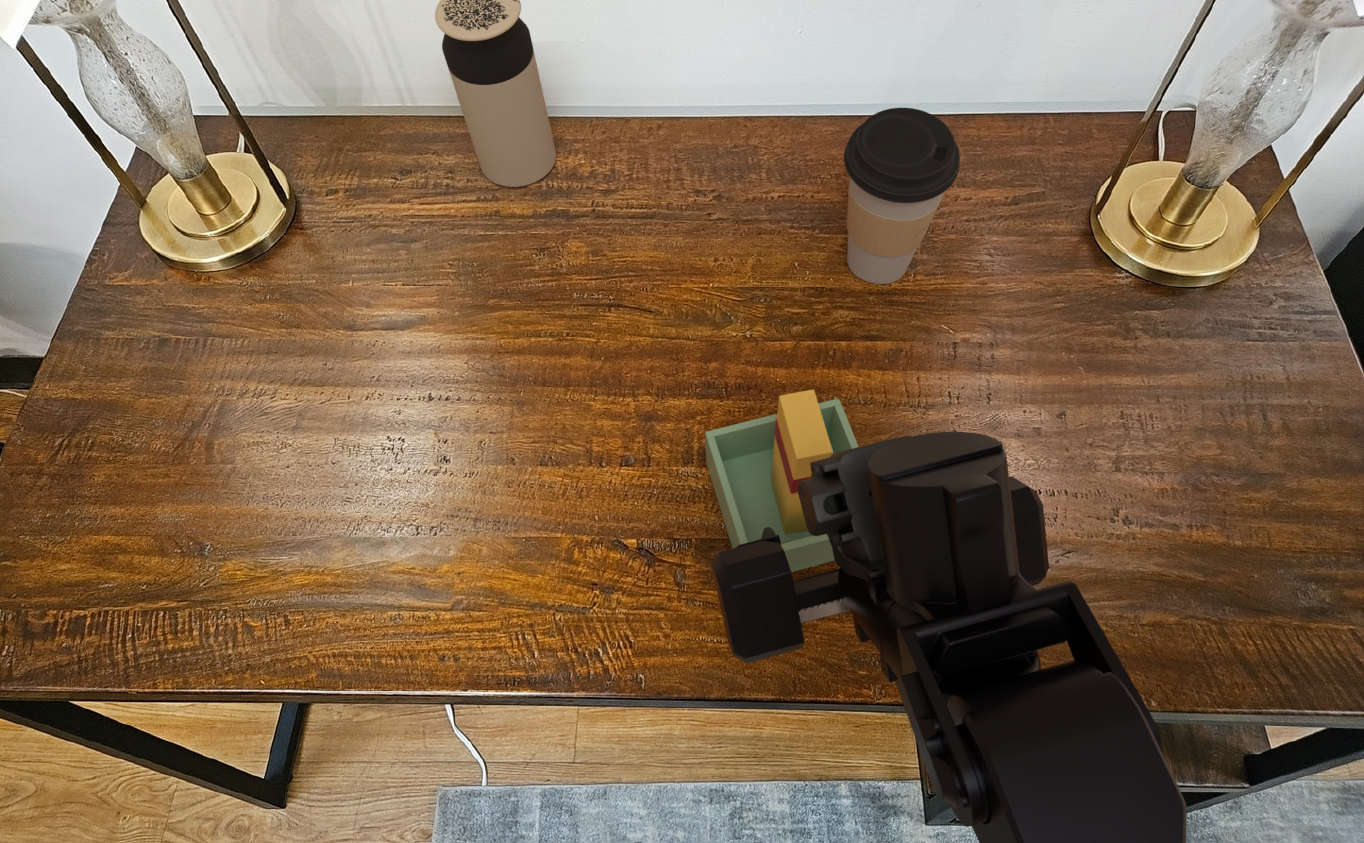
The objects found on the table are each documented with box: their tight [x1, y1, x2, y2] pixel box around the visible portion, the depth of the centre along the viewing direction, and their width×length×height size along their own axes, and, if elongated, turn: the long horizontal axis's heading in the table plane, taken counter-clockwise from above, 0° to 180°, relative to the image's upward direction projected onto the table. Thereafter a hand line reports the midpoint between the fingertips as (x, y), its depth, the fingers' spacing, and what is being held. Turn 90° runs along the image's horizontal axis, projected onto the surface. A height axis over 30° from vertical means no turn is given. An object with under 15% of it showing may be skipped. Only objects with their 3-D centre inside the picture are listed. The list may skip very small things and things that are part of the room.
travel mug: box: [434, 0, 557, 188], centre depth 85 cm, size 8×8×18 cm
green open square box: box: [704, 398, 860, 573], centre depth 71 cm, size 11×11×6 cm
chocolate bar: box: [771, 388, 833, 535], centre depth 66 cm, size 3×5×14 cm, turn 11°
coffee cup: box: [843, 107, 961, 285], centre depth 78 cm, size 9×9×15 cm
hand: (835, 516), depth 58 cm, fingers open, 9 cm apart
